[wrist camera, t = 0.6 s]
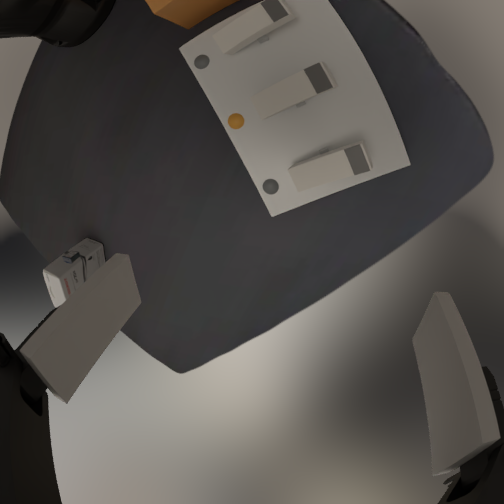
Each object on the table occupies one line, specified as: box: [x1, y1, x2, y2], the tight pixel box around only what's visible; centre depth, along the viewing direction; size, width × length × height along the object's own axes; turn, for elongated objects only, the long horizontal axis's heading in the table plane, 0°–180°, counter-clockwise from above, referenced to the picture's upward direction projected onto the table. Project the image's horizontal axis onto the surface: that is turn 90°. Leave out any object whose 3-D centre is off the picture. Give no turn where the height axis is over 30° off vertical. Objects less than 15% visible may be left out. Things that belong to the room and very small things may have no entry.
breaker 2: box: [250, 62, 338, 120], centre depth 22 cm, size 3×8×2 cm, turn 119°
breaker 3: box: [287, 140, 373, 192], centre depth 25 cm, size 3×8×2 cm, turn 119°
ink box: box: [43, 238, 106, 308], centre depth 41 cm, size 9×5×12 cm, turn 172°
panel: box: [179, 0, 410, 217], centre depth 25 cm, size 23×17×4 cm
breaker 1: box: [213, 0, 297, 55], centre depth 19 cm, size 3×8×2 cm, turn 118°
